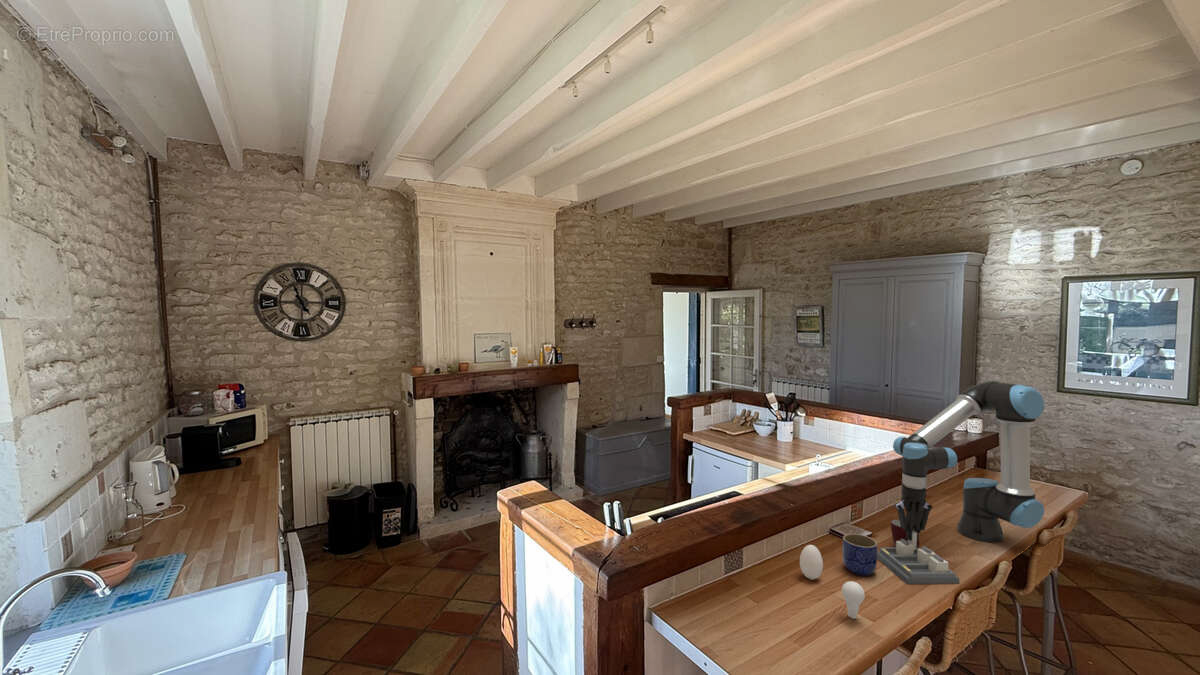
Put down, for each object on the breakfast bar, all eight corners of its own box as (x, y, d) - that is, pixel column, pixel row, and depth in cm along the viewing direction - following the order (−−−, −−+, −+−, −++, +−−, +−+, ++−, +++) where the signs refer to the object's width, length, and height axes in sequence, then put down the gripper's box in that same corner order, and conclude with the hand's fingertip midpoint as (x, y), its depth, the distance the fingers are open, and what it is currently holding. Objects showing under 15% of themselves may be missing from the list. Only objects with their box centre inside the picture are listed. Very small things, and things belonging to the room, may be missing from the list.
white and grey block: (939, 569, 170) (940, 554, 170) (947, 575, 166) (948, 559, 166) (928, 569, 170) (928, 554, 170) (936, 575, 166) (936, 559, 166)
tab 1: (906, 552, 182) (906, 538, 182) (913, 558, 178) (913, 543, 178) (895, 552, 182) (896, 538, 182) (902, 558, 178) (902, 543, 178)
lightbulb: (837, 612, 149) (837, 577, 149) (856, 611, 150) (856, 576, 149) (848, 625, 143) (849, 588, 143) (868, 624, 144) (869, 587, 143)
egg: (797, 580, 168) (797, 546, 167) (802, 570, 174) (802, 538, 173) (820, 586, 163) (821, 552, 163) (824, 576, 170) (825, 543, 169)
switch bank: (922, 556, 184) (922, 546, 183) (959, 583, 165) (959, 572, 165) (875, 556, 183) (875, 547, 183) (906, 583, 165) (906, 573, 165)
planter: (873, 565, 177) (874, 535, 176) (879, 581, 167) (880, 549, 166) (840, 560, 181) (840, 531, 180) (844, 575, 170) (845, 544, 170)
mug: (926, 554, 185) (926, 528, 185) (913, 558, 181) (913, 532, 181) (899, 543, 194) (899, 518, 194) (886, 547, 191) (886, 521, 191)
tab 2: (927, 560, 176) (928, 545, 176) (935, 566, 172) (936, 551, 172) (917, 560, 176) (917, 546, 176) (924, 566, 172) (924, 551, 172)
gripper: (924, 482, 183) (922, 543, 184) (890, 482, 183) (888, 543, 184) (938, 489, 175) (936, 553, 176) (902, 489, 175) (900, 553, 176)
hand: (912, 548), depth 180 cm, fingers closed
